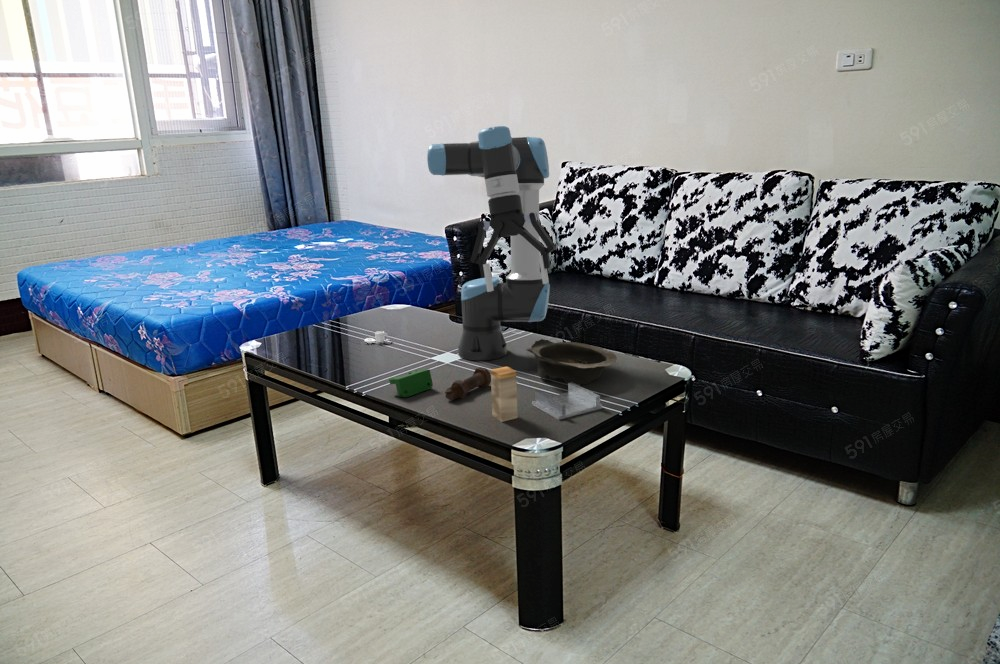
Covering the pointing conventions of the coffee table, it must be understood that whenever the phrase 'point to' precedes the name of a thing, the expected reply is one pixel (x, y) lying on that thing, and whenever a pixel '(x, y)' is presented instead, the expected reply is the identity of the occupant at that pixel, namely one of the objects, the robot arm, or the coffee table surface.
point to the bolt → (469, 384)
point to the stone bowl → (571, 361)
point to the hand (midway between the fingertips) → (517, 287)
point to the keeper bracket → (568, 402)
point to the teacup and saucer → (377, 337)
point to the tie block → (504, 393)
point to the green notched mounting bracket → (412, 382)
